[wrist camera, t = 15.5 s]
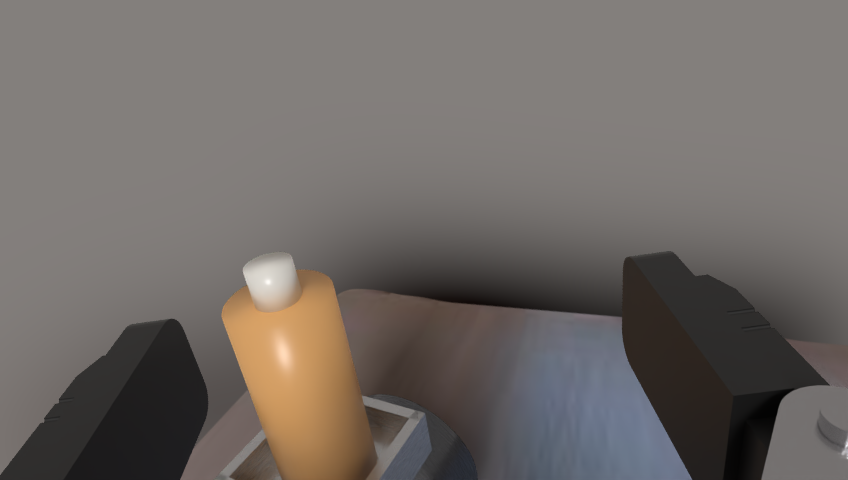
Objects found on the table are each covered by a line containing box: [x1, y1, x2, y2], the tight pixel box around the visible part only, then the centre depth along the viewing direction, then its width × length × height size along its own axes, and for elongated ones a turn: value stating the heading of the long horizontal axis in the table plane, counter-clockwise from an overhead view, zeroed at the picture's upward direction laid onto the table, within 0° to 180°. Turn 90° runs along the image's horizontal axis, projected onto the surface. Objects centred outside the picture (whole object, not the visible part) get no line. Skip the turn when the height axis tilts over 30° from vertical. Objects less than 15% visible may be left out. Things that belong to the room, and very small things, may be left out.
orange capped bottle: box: [222, 252, 377, 480], centre depth 31 cm, size 6×6×14 cm
